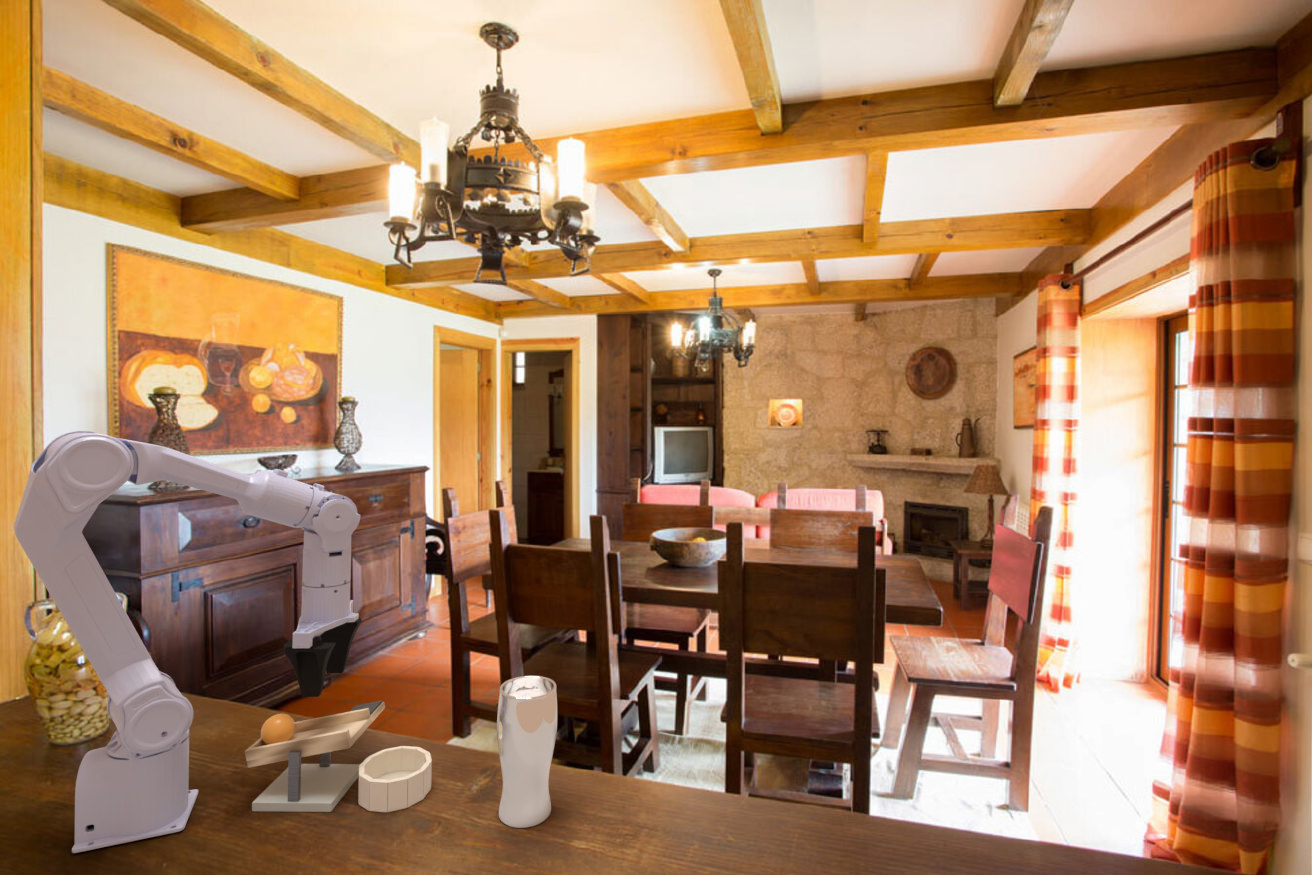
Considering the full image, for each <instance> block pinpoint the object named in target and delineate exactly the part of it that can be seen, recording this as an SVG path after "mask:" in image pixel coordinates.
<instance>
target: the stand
mask: <svg viewBox="0 0 1312 875" xmlns="http://www.w3.org/2000/svg"><path fill="white" fill-rule="evenodd" d="M287 762H288V765H287V766H288V767H286V769H285V770H283V772H281V773H280V775H278V776H277V778H275V780H273V782H272V783H271V784H269V785H268V787H266V788H265V790H263V791H262V792H261V793H260V794H259V795H258V796H257V797H256V798H255V799H254V800H253V801H252V803H251V811H252V812H291V813H293V812H298V813H301V812H302V813H303V812H307V813H308V812H309V813H310V812H311V813H313V812H314V813H317V812H318V813H319V812H320V813H331V812H333V810H334V809H335V808H336V806H337V804H338V803H339V802H340V801H341V800H342V798H343V797H344V796H345V795H346V793H347V792H348V791H349V789H350V788H351V787H352V786H353V785H354V784H355V782H356V781H357V779H359V765H360V764H361V763H357V764H356V763H353V764H352V763H332V752H327V753H322V754H319V763H302V757H301V750H291V751H290V752H289V754H288V760H287Z"/></svg>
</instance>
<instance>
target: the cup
mask: <svg viewBox="0 0 1312 875" xmlns="http://www.w3.org/2000/svg"><path fill="white" fill-rule="evenodd" d="M432 762H433V760H432V754H431V753H430V751H427V750H426V749H424V748H422V747H420V746H409V745H400V746H395V747H389V748H385V749H382V750H379V751H377V752H375V753H372V754H370V755H369V756H367V757H366V758H365V759H364V760H363V761H362V762H361V763H359V764H360V765H359V777H358V784H357V785H358V786H357V787H358V788H357V789H358V790H357V792H358V793H357V794H358V795H357V802H358V806H360V807H362V808H363V809H365V810H367V811H369V812H377V813H378V812H379V813H391V812H394V811H395V812H396V811H399V810H403V809H407V808H410V807H412V806H413V805H415V804H417V803H419V802H420V801H422V800H424V799H425V797H426V796H427V795H428V793H429V792H430V791H431V789H432V765H433V763H432Z"/></svg>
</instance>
